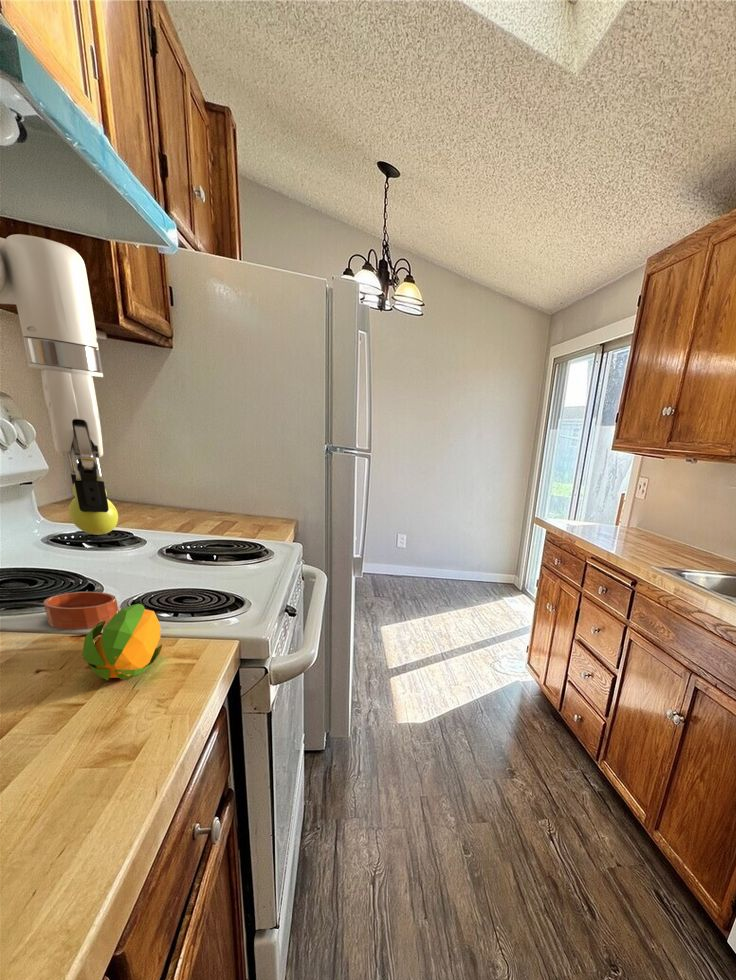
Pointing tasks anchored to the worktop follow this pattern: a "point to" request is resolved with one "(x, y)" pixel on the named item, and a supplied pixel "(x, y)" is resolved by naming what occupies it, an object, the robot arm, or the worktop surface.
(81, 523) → the pear
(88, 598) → the bowl
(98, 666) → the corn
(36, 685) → the worktop surface
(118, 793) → the worktop surface
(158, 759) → the worktop surface
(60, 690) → the worktop surface
